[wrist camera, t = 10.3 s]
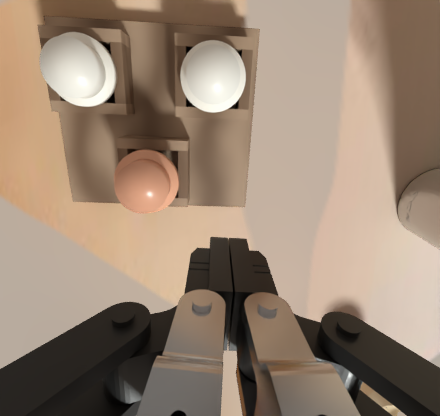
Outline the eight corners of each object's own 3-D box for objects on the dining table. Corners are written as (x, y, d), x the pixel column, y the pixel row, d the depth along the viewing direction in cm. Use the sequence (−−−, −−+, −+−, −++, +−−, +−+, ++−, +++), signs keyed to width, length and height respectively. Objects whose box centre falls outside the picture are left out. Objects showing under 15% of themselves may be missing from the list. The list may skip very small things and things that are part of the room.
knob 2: (243, 50, 27) (251, 36, 22) (239, 113, 29) (245, 114, 24) (184, 47, 27) (177, 32, 22) (184, 110, 29) (178, 111, 24)
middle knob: (182, 146, 28) (175, 156, 23) (182, 200, 30) (176, 221, 25) (123, 144, 28) (102, 153, 22) (128, 199, 30) (109, 219, 24)
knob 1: (123, 43, 27) (101, 27, 21) (128, 107, 29) (109, 108, 23) (62, 40, 26) (23, 23, 21) (71, 105, 29) (38, 104, 23)
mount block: (257, 32, 28) (265, 19, 24) (243, 203, 35) (248, 216, 31) (52, 20, 27) (23, 4, 23) (78, 197, 34) (59, 210, 30)
